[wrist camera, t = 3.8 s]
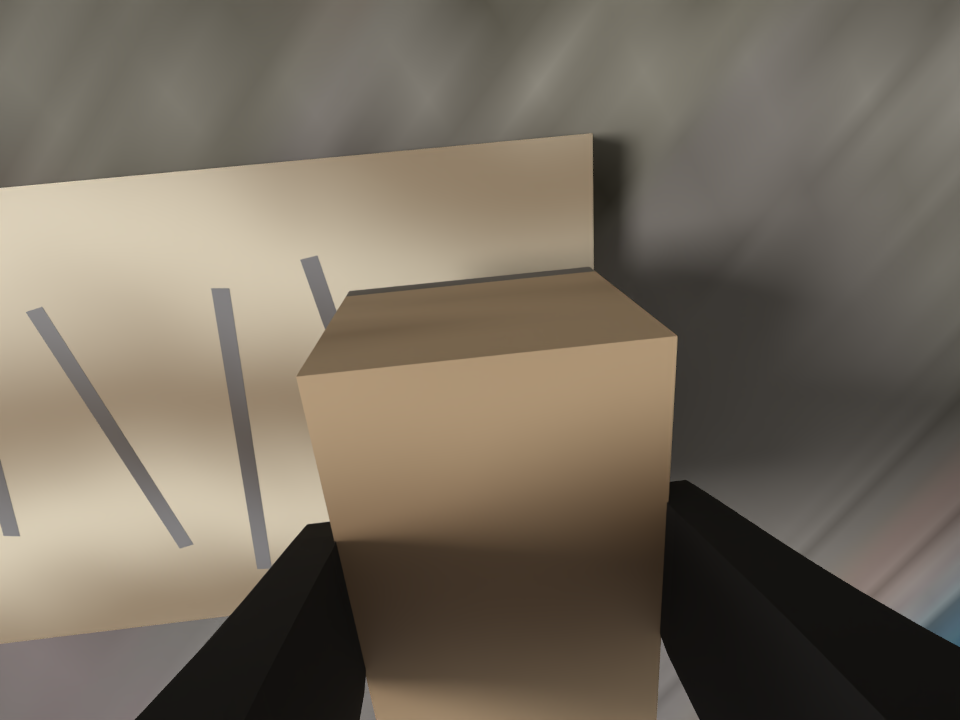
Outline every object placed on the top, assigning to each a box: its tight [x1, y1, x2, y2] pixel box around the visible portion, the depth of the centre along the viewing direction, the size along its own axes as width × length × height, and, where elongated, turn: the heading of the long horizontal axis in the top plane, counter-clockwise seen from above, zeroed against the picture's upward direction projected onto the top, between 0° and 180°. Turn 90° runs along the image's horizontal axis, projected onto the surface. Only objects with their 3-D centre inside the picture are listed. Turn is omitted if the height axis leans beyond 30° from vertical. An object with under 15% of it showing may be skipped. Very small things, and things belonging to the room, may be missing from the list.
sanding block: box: [296, 267, 678, 720], centre depth 9 cm, size 7×4×4 cm, turn 5°
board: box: [0, 133, 594, 644], centre depth 14 cm, size 12×18×1 cm, turn 95°
